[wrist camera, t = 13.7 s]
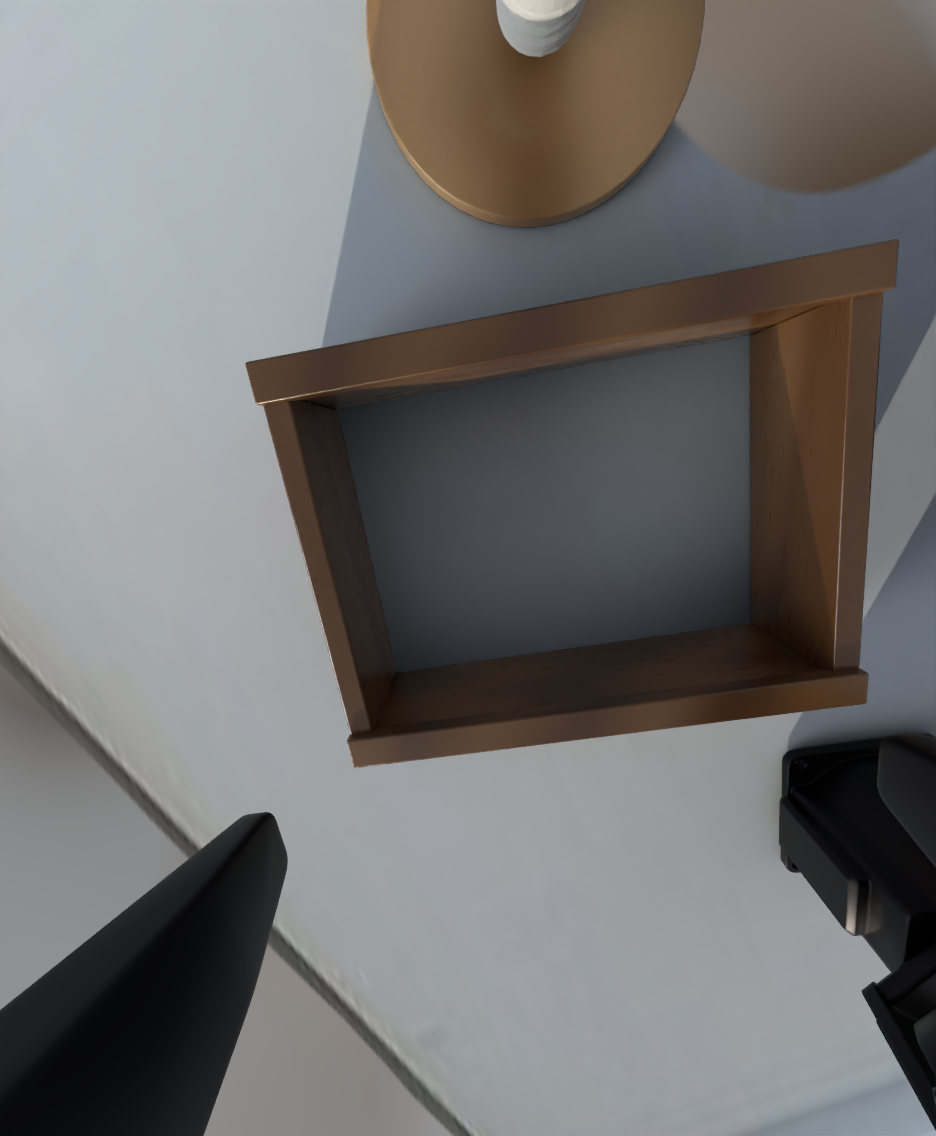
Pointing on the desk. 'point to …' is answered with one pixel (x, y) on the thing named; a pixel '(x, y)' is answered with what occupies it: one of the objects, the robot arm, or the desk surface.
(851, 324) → the wooden cubby shelf
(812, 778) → the robot arm
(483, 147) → the coaster
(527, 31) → the light bulb
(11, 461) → the desk surface
